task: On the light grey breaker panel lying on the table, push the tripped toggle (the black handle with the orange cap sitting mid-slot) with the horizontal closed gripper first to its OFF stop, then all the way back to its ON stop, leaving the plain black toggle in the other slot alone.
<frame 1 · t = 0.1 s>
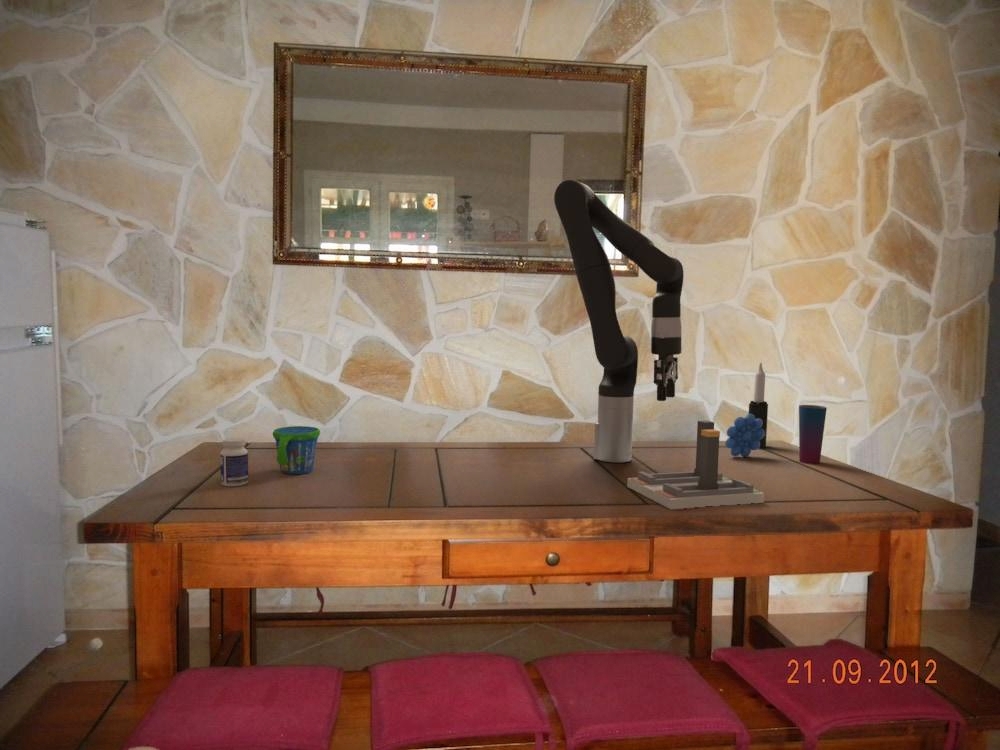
hand: (666, 398, 185), 17 cm above the table, tool pointing down, fingers open, 8 cm apart
candle: (756, 446, 216), on the table
cup: (809, 462, 194), on the table
panel: (693, 494, 157), on the table
pill bottle: (234, 484, 160), on the table
breaker: (709, 460, 151), point 9 cm above the table, slide at 0.0 cm
snack cup: (296, 472, 172), on the table
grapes: (742, 456, 200), on the table
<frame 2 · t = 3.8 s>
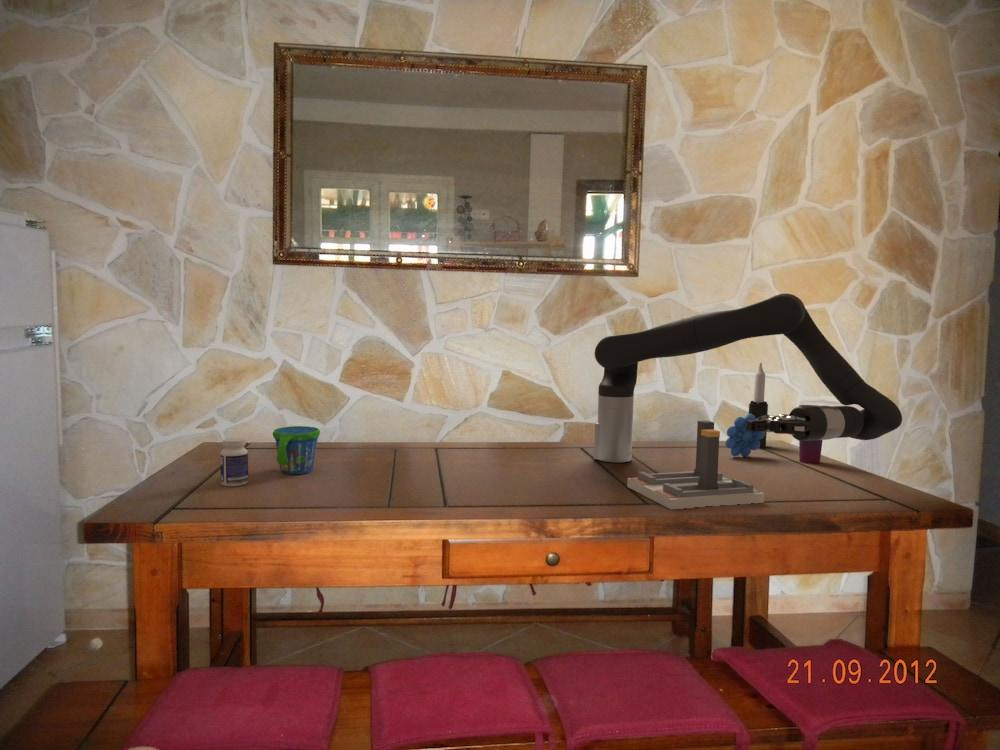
hand: (748, 426, 153), 16 cm above the table, tool horizontal, fingers closed
nothing on the table moved.
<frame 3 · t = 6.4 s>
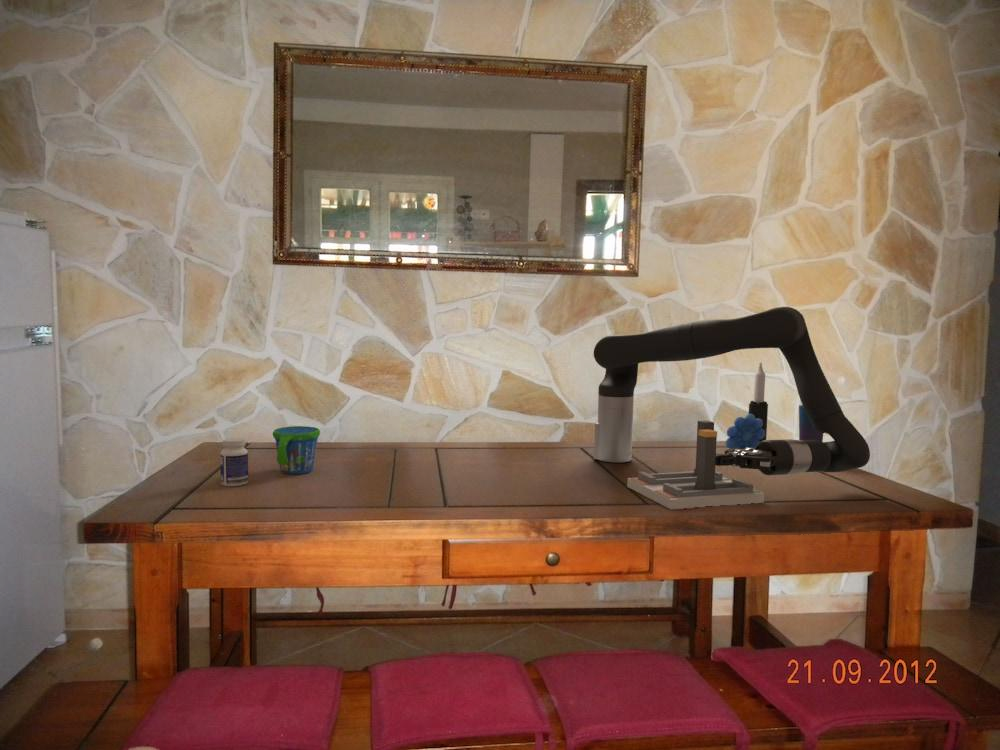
hand: (714, 460, 151), 9 cm above the table, tool horizontal, fingers closed
breaker: (706, 460, 151), point 9 cm above the table, slide at -0.7 cm, touching gripper
everything else where it was.
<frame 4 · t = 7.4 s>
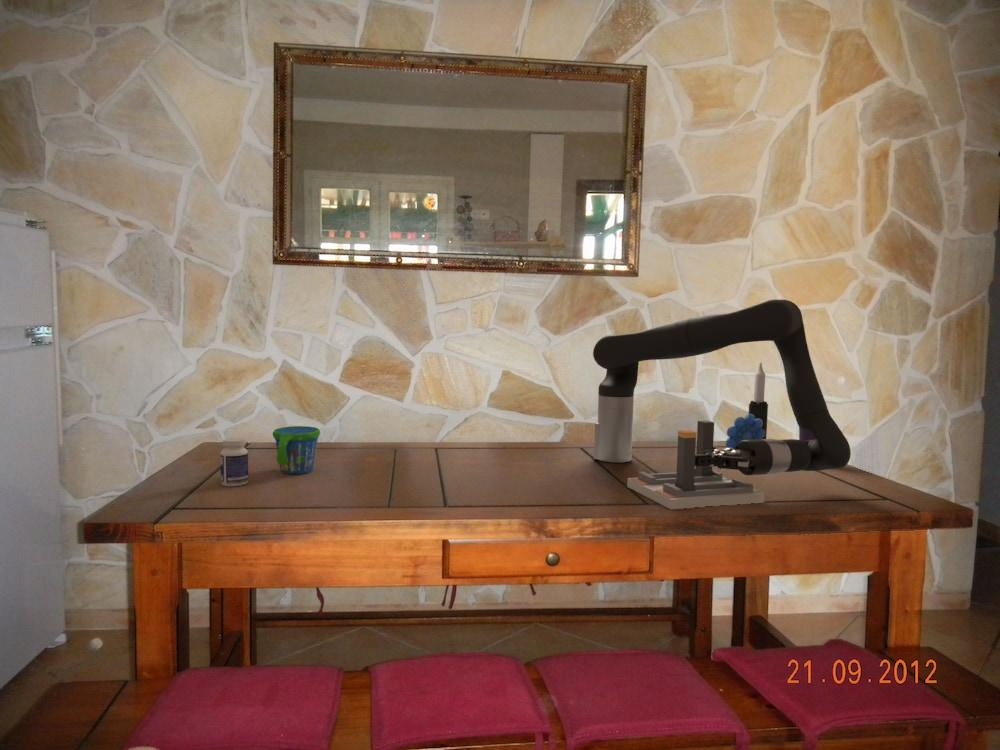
hand: (692, 460, 150), 9 cm above the table, tool horizontal, fingers closed
breaker: (685, 461, 150), point 9 cm above the table, slide at -5.6 cm, touching gripper
everything else where it was.
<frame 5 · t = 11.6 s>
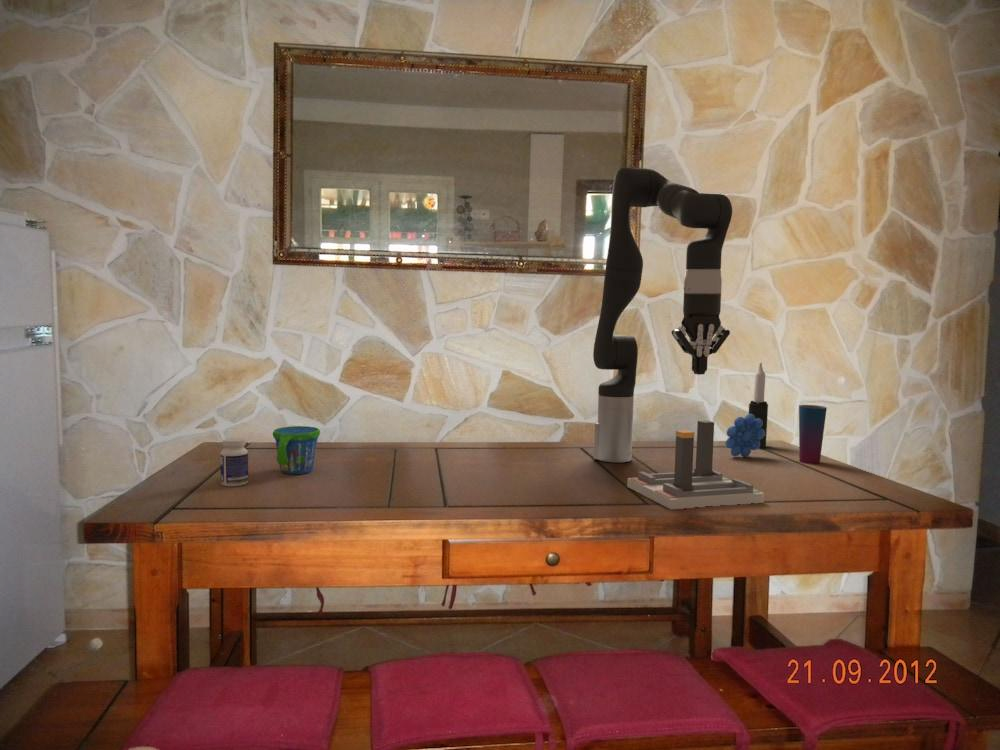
hand: (699, 373, 153), 27 cm above the table, tool pointing down, fingers closed
breaker: (683, 461, 149), point 9 cm above the table, slide at -6.0 cm
everything else where it was.
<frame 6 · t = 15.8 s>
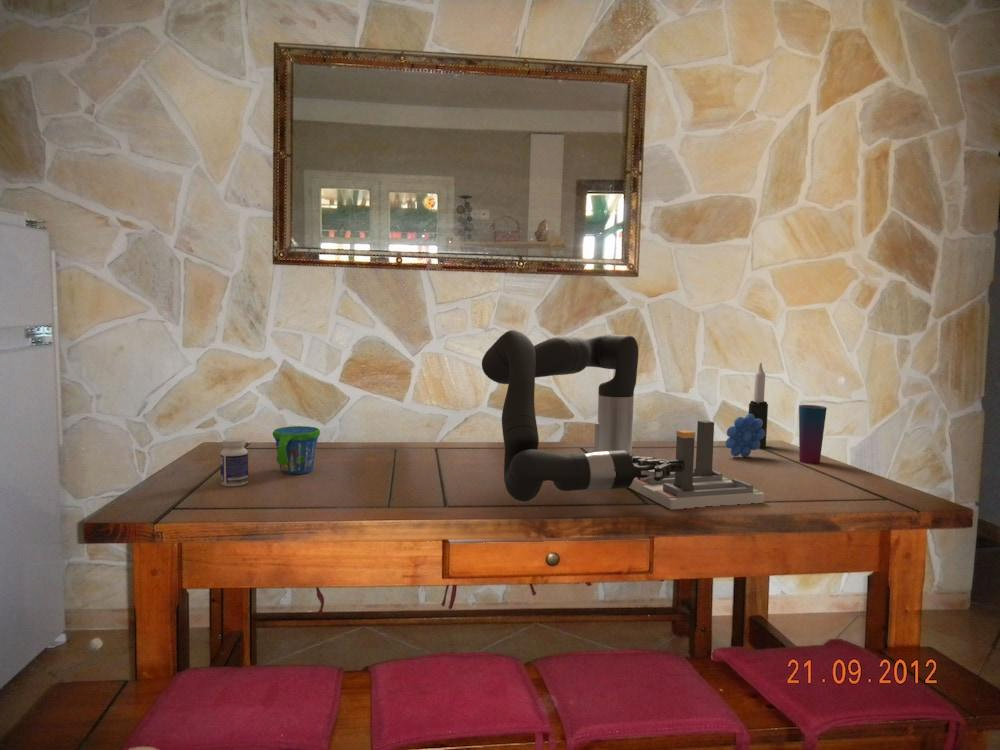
hand: (682, 465, 148), 8 cm above the table, tool horizontal, fingers closed
breaker: (684, 461, 150), point 9 cm above the table, slide at -5.9 cm, touching gripper
everything else where it was.
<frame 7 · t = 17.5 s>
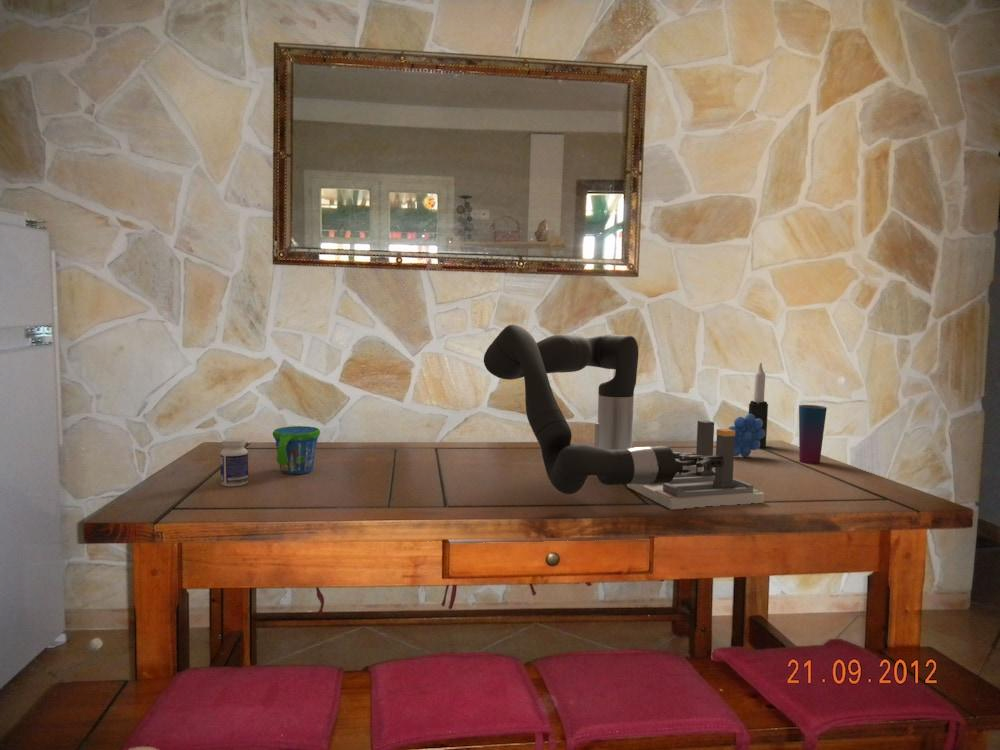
hand: (721, 461, 151), 9 cm above the table, tool horizontal, fingers closed
breaker: (724, 459, 152), point 9 cm above the table, slide at 3.7 cm
everything else where it was.
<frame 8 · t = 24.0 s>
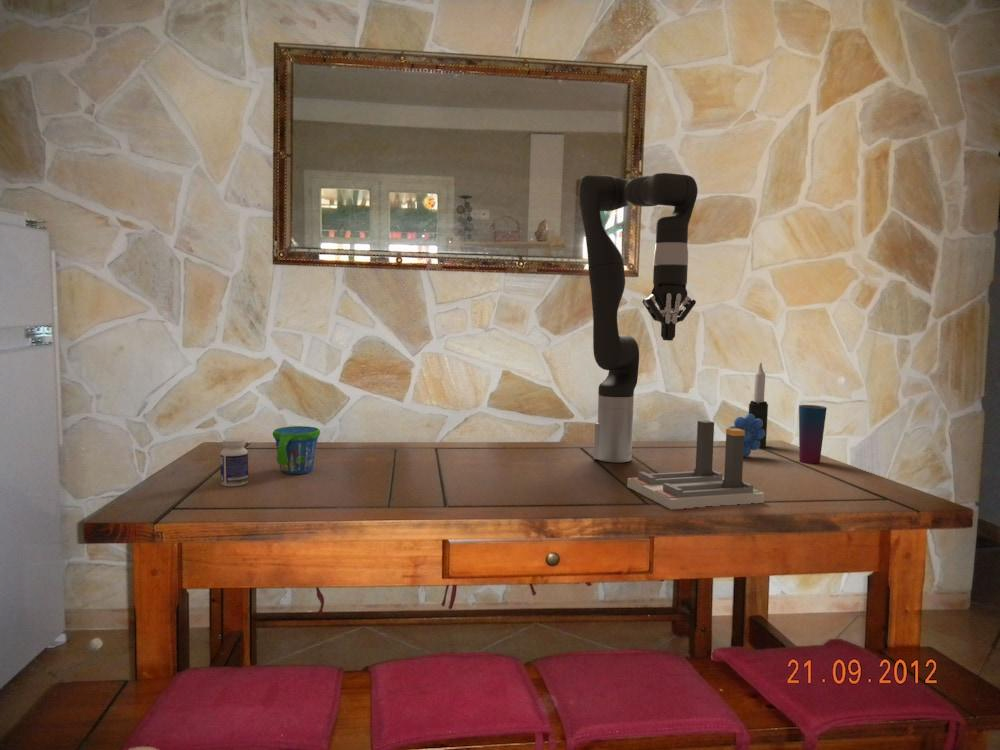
hand: (667, 340, 166), 33 cm above the table, tool pointing down, fingers closed
breaker: (734, 459, 153), point 9 cm above the table, slide at 6.0 cm
everything else where it was.
at the end: breaker slide at 6.0 cm; breaker touching nothing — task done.
